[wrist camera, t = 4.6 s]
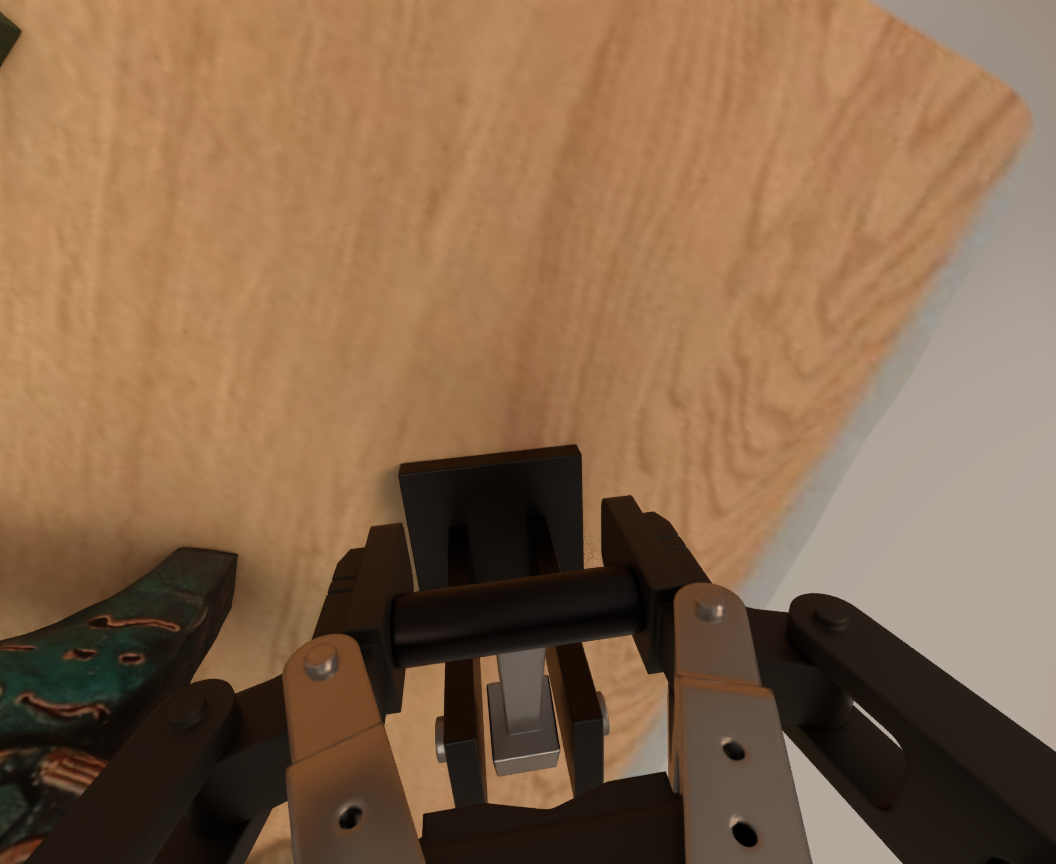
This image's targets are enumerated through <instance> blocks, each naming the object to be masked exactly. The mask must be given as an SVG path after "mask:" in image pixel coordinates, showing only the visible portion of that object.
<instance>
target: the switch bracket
mask: <svg viewBox="0 0 1056 864" xmlns="http://www.w3.org/2000/svg"><path fill="white" fill-rule="evenodd" d="M398 477H399V483H400V488H401V493H402V499H403V504H404V510H405V515H406V520H407V526H408V531H409V536H410V542H411V547H412V552H413V558H414V563H415V569H416V574H417V579H418V585H419V590H420V591H425V590H433V589H440V588H448V587H455V586H463V585H470V584H477V583H485V582H492V581H500V580H507V579H515V578H522V577H530V576H537V575H544V574H552V573H559V572H567V571H574V570H582V569H584V552H583V501H582V454H581V452H580V451H579V449H578V447H577V445H567V446H558V447H549V448H540V449H531V450H522V451H513V452H504V453H495V454H486V455H477V456H468V457H459V458H450V459H441V460H432V461H423V462H414V463H405V464H401V465H400V469H399V474H398ZM545 657H546V662H547V667H548V672H549V677H550V682H551V687H552V692H553V697H554V702H555V707H556V712H557V717H558V722H559V727H560V732H561V737H562V742H563V747H564V752H565V757H566V762H567V767H568V772H569V777H570V782H571V787H572V792H573V797H574V798H575V797H577V796H579V795H582V794H584V793H586V792H588V791H590V790H592V789H594V788H596V787H598V786H600V785H602V784H604V736H606V735H608V734H609V718H608V712H607V707H606V703H605V700H604V697H603V695H602V693H601V692H596V690H595V686H594V683H593V679H592V676H591V672H590V669H589V666H588V662H587V659H586V655H585V652H584V648H583V645H582V642H580V643H573V644H566V645H560V646H553V647H546V651H545ZM435 744H436V754H437V759H438V762H439V763H443V762H447V767H448V772H449V777H450V782H451V787H452V793H453V798H454V803H455V808H460V807H465V806H471V805H477V804H482V803H488V799H487V781H486V762H485V743H484V724H483V705H482V687H481V668H480V657H478V658H472V659H465V660H458V661H451V662H445V688H444V716H440V717H437V718H436V723H435Z"/></svg>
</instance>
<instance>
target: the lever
mask: <svg viewBox="0 0 1056 864" xmlns="http://www.w3.org/2000/svg"><path fill="white" fill-rule="evenodd" d="M643 621H644V613H643V604H642V597H641V593H640V589H639V585H638V582H637V579H636V577H635V574H634V572H633V570H632V569H631V567H630V566H629V565H627V564H619V565H611V566H604V567H596V568H589V569H582V570H574V571H567V572H559V573H552V574H544V575H537V576H530V577H522V578H515V579H507V580H500V581H492V582H485V583H477V584H470V585H463V586H455V587H448V588H440V589H433V590H425V591H418V592H411V593H403V594H398V595H396V596H395V597H394V600H393V604H392V610H391V641H392V650H393V655H394V659H395V662H396V665H397V666H398V668H401V669H404V668H411V667H418V666H424V665H431V664H438V663H445V662H451V661H458V660H465V659H472V658H478V657H485V656H492V655H496V657H497V664H498V672H499V679H500V682H496V683H489V684H487V697H488V710H489V722H490V734H491V746H492V758H493V763H494V767H495V770H496V774H497V776H499V777H500V776H506V775H512V774H518V773H523V772H529V771H535V770H541V769H547V768H553V767H556V766H557V762H558V757H559V753H560V745H559V738H558V732H557V726H556V719H555V713H554V707H553V701H552V694H551V688H550V682H549V677H548V675H544V666H545V651H546V647H553V646H560V645H566V644H573V643H580V642H587V641H593V640H600V639H607V638H614V637H620V636H627V635H634V634H638V633H640V632H641V631H642V628H643Z"/></svg>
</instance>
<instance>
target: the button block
mask: <svg viewBox="0 0 1056 864" xmlns="http://www.w3.org/2000/svg"><path fill="white" fill-rule="evenodd" d="M20 32H21V30H20V29H19V28H18V27H17V26H16V25H14V24H13V23H12V22H11V21H10V20H9V19H7V18H6V17H5V16H4V15H3V14H2V13H0V65H1V63H2V62H3V60H4V58H5V57H6V55H7V54H8V52H9V50H10V49H11V47H12V45H13V44H14V42H15V41H16V39H17V37H18V36H19V34H20Z"/></svg>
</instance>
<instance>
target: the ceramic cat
mask: <svg viewBox="0 0 1056 864" xmlns="http://www.w3.org/2000/svg"><path fill="white" fill-rule="evenodd" d="M237 557H238V554H233V553H226V552H219V551H213V550H206V549H198V548H187V547H183V548H179V549H177V550H176V551H174V552H173V553H172V554H171V555H170V556H168V557H167V558H166V559H165V560H164V561H163V562H162V563H160V564H159V565H158V566H157V567H155V568H154V569H153V570H151V571H150V572H149V573H147V574H146V575H144V576H143V577H142V578H140V579H139V580H137V581H136V582H134V583H133V584H131V585H130V586H128V587H127V588H125V589H124V590H122V591H120V592H119V593H117V594H115V595H114V596H112V597H110V598H108V599H106V600H103V601H101V602H99V603H96V604H94V605H92V606H89V607H87V608H85V609H83V610H81V611H79V612H77V613H75V614H73V615H71V616H69V617H67V618H65V619H63V620H61V621H59V622H57V623H54V624H52V625H49V626H46V627H44V628H41V629H38V630H36V631H33V632H30V633H27V634H24V635H21V636H17V637H13V638H9V639H5V640H1V641H0V864H23V863H24V862H25V860H26V859H27V858H28V857H29V856H30V855H31V853H32V852H33V851H34V850H35V849H36V848H37V846H38V845H39V844H40V843H41V842H42V840H43V839H44V838H45V837H46V836H47V835H48V833H49V832H50V831H51V830H52V829H53V828H54V826H55V825H56V824H57V823H58V822H59V820H60V819H61V818H62V817H63V816H64V815H65V813H66V812H67V811H68V810H69V809H70V807H71V806H72V805H73V804H74V803H75V802H76V800H77V799H78V798H79V797H80V796H81V795H82V793H83V792H84V791H85V790H86V789H87V787H88V786H89V785H90V784H91V783H92V782H93V780H94V779H95V778H96V777H97V776H98V775H99V773H100V772H101V771H102V770H103V769H104V767H105V766H106V765H107V764H108V763H109V762H110V760H111V759H112V758H113V757H114V756H115V754H116V753H117V752H118V751H119V750H120V749H121V747H122V746H123V745H124V744H125V743H126V742H127V740H128V739H129V738H130V737H131V736H132V734H133V733H134V732H135V731H136V730H137V729H138V727H139V726H140V725H141V724H142V723H143V722H144V720H145V719H146V718H147V717H148V716H149V714H150V713H151V712H152V711H153V710H154V709H155V708H156V707H157V706H158V705H159V704H160V703H161V702H162V701H163V700H164V699H166V698H167V697H168V696H170V695H171V694H173V693H174V692H176V691H177V690H179V689H181V688H183V687H185V686H187V685H190V683H191V680H192V678H193V676H194V674H195V672H196V671H197V669H198V667H199V666H200V664H201V663H202V661H203V659H204V658H205V656H206V654H207V653H208V651H209V649H210V648H211V646H212V644H213V643H214V641H215V640H216V638H217V636H218V633H219V631H220V629H221V627H222V625H223V623H224V621H225V619H226V617H227V615H228V613H229V612H230V610H231V607H232V600H233V595H234V588H235V577H236V566H237Z"/></svg>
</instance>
